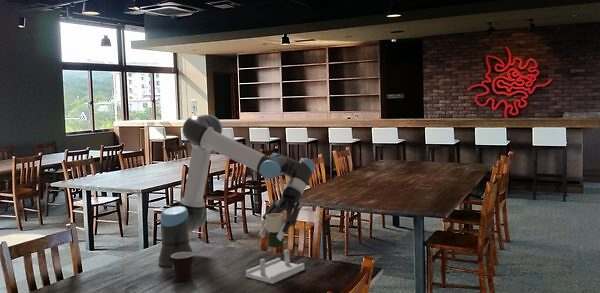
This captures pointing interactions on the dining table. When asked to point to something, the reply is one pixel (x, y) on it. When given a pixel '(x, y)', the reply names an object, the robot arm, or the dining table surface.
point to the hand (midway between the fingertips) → (269, 237)
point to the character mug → (273, 228)
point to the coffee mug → (182, 266)
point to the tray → (274, 269)
